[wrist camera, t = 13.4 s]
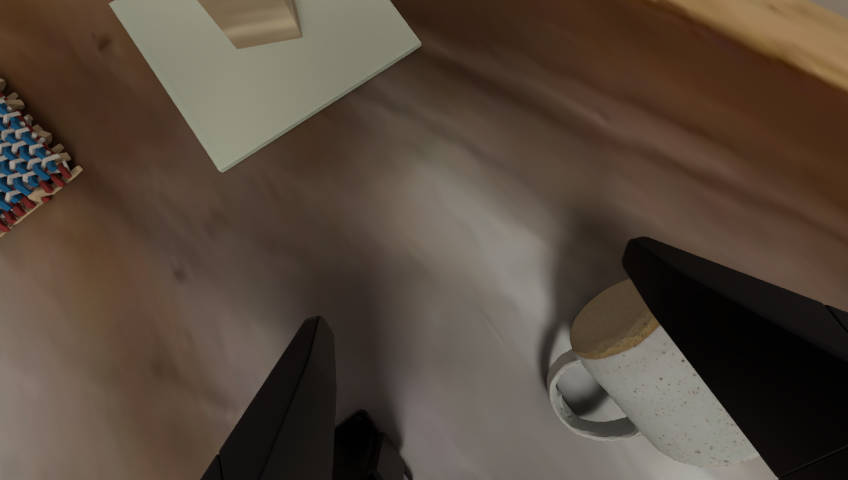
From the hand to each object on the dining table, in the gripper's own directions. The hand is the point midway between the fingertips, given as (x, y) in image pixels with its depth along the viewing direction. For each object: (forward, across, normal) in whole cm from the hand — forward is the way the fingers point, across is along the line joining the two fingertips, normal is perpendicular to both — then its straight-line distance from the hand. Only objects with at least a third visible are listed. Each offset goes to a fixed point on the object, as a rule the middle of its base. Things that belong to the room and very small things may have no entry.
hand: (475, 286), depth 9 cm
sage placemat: (+25, +9, -6) cm, 27 cm away
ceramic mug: (+4, -10, +16) cm, 19 cm away
